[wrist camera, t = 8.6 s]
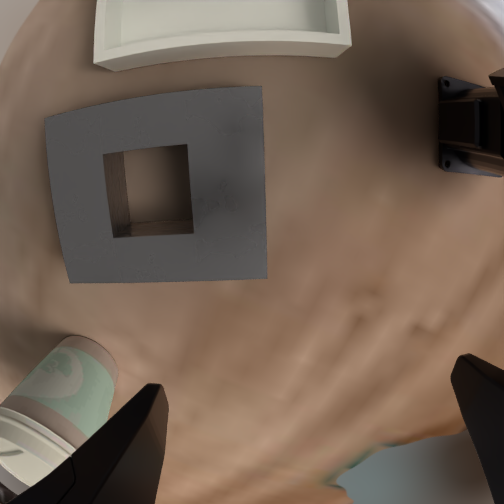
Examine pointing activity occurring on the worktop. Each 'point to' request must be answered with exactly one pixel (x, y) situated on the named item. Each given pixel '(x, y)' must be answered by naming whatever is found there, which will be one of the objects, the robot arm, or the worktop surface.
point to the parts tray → (216, 30)
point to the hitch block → (201, 185)
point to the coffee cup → (56, 408)
